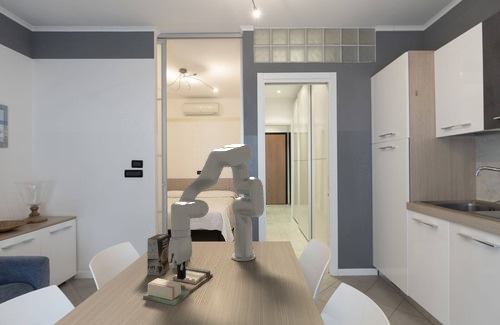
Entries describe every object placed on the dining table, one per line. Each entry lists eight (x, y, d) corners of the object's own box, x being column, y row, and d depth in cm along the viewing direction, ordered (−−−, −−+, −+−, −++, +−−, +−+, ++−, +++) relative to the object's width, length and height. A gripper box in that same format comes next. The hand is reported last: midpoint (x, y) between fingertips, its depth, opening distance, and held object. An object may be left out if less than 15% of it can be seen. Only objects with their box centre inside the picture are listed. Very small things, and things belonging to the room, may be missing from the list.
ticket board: (185, 271, 121) (185, 265, 121) (212, 276, 115) (212, 269, 115) (143, 298, 96) (143, 290, 97) (174, 305, 91) (174, 297, 91)
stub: (157, 288, 101) (157, 278, 101) (181, 293, 97) (180, 282, 97) (147, 294, 97) (147, 283, 97) (172, 300, 92) (172, 288, 92)
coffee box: (159, 276, 116) (159, 239, 117) (146, 275, 118) (146, 238, 118) (170, 268, 125) (170, 234, 125) (157, 267, 126) (157, 233, 127)
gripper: (184, 228, 115) (184, 270, 115) (160, 236, 101) (161, 285, 101) (199, 229, 112) (199, 272, 112) (176, 238, 98) (177, 288, 98)
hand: (181, 278), depth 106 cm, fingers closed
